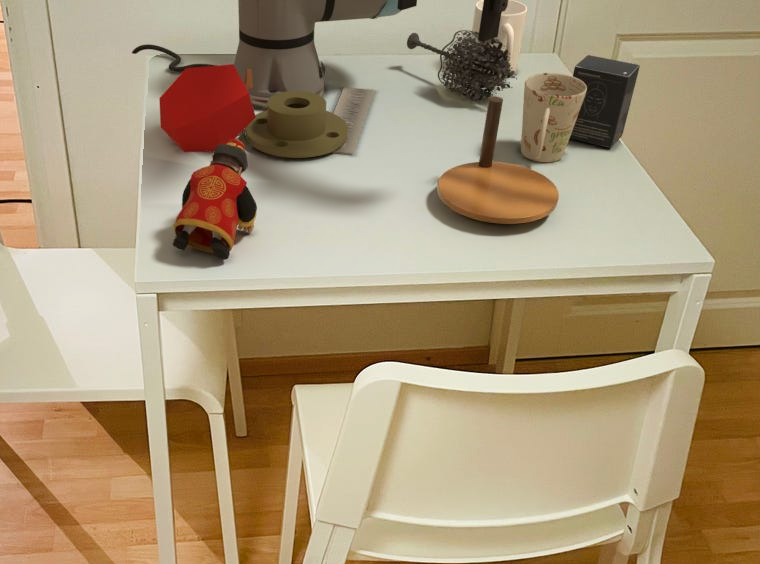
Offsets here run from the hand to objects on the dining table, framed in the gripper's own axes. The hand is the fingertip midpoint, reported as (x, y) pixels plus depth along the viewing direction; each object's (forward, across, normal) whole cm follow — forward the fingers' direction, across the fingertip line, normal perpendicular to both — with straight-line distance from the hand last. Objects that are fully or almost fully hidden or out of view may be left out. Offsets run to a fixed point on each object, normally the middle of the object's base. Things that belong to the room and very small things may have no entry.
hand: (445, 22), depth 116 cm
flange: (+18, -14, -3) cm, 22 cm away
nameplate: (+20, -18, +6) cm, 28 cm away
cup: (+21, -19, +36) cm, 45 cm away
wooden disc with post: (+19, +11, +1) cm, 22 cm away
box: (+21, +7, +28) cm, 36 cm away
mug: (+21, +7, +16) cm, 27 cm away
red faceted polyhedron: (+18, -30, -24) cm, 42 cm away
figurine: (+20, -2, -37) cm, 42 cm away
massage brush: (+12, -18, +23) cm, 32 cm away
